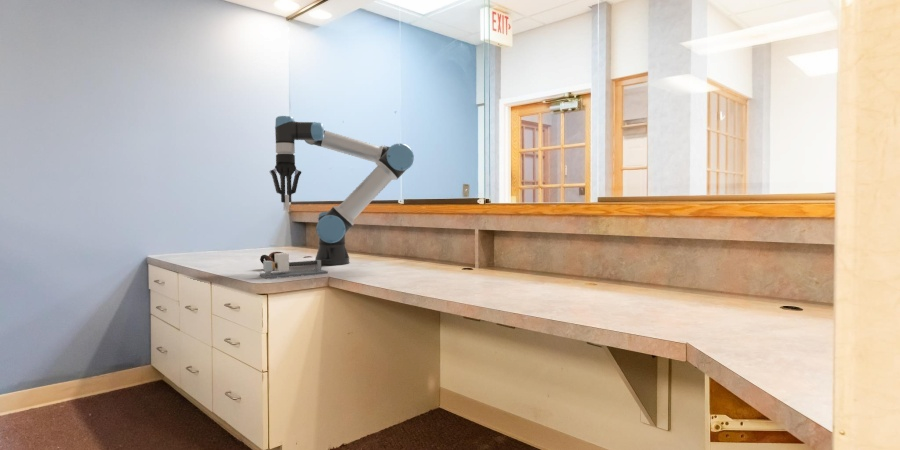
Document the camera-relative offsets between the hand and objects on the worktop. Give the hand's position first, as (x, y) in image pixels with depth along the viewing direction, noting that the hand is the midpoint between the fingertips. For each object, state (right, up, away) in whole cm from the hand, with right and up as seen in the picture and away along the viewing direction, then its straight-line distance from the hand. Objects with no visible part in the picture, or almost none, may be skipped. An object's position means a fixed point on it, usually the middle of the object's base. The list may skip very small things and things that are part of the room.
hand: (286, 210), depth 214 cm
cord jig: (+9, -25, -18) cm, 32 cm away
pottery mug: (-5, -25, -1) cm, 25 cm away
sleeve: (+5, -23, -21) cm, 32 cm away
